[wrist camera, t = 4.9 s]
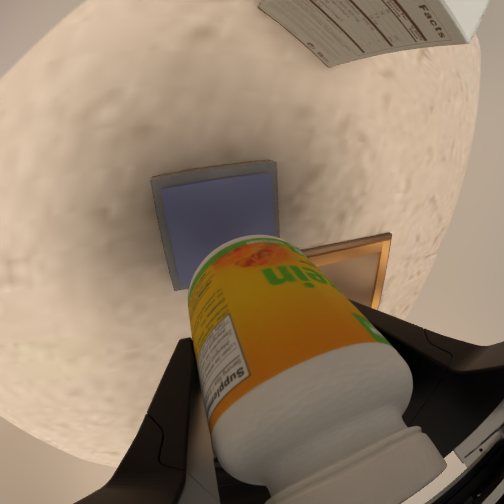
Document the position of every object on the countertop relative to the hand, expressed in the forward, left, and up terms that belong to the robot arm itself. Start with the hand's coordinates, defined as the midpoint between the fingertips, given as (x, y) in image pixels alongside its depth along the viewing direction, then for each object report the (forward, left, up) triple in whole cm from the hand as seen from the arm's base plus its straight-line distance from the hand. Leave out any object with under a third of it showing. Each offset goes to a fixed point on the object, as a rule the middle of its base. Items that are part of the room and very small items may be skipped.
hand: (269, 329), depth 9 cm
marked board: (-9, -11, -11) cm, 18 cm away
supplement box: (+16, -9, -12) cm, 22 cm away
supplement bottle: (0, 0, -3) cm, 3 cm away
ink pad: (0, 0, -11) cm, 11 cm away
